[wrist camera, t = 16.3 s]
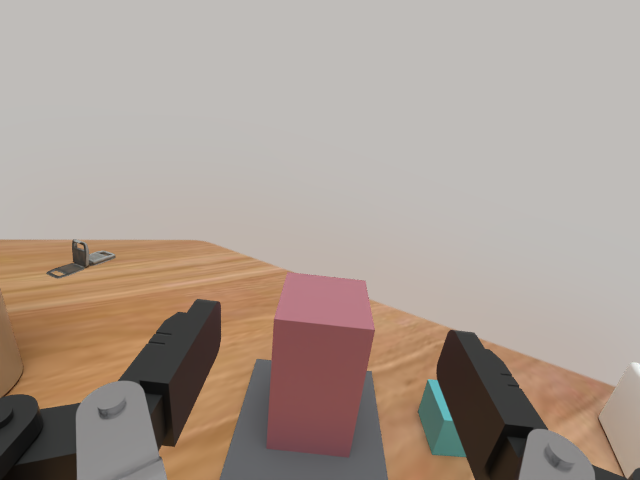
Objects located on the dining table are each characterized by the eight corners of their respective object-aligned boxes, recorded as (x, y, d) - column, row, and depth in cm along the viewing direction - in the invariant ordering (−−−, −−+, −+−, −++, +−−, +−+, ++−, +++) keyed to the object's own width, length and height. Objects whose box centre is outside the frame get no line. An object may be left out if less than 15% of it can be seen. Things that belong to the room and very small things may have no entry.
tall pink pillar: (266, 448, 25) (274, 318, 20) (279, 383, 31) (287, 272, 26) (348, 457, 25) (374, 329, 20) (345, 390, 31) (365, 280, 26)
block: (431, 455, 26) (444, 420, 24) (417, 412, 30) (427, 379, 28) (479, 458, 26) (495, 424, 25) (459, 415, 30) (471, 383, 28)
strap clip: (104, 254, 52) (100, 230, 51) (117, 259, 51) (114, 234, 50) (45, 275, 45) (38, 247, 43) (59, 281, 44) (52, 253, 42)
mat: (218, 485, 22) (218, 483, 22) (256, 361, 33) (256, 358, 33) (390, 504, 22) (391, 501, 22) (371, 373, 33) (371, 371, 33)
